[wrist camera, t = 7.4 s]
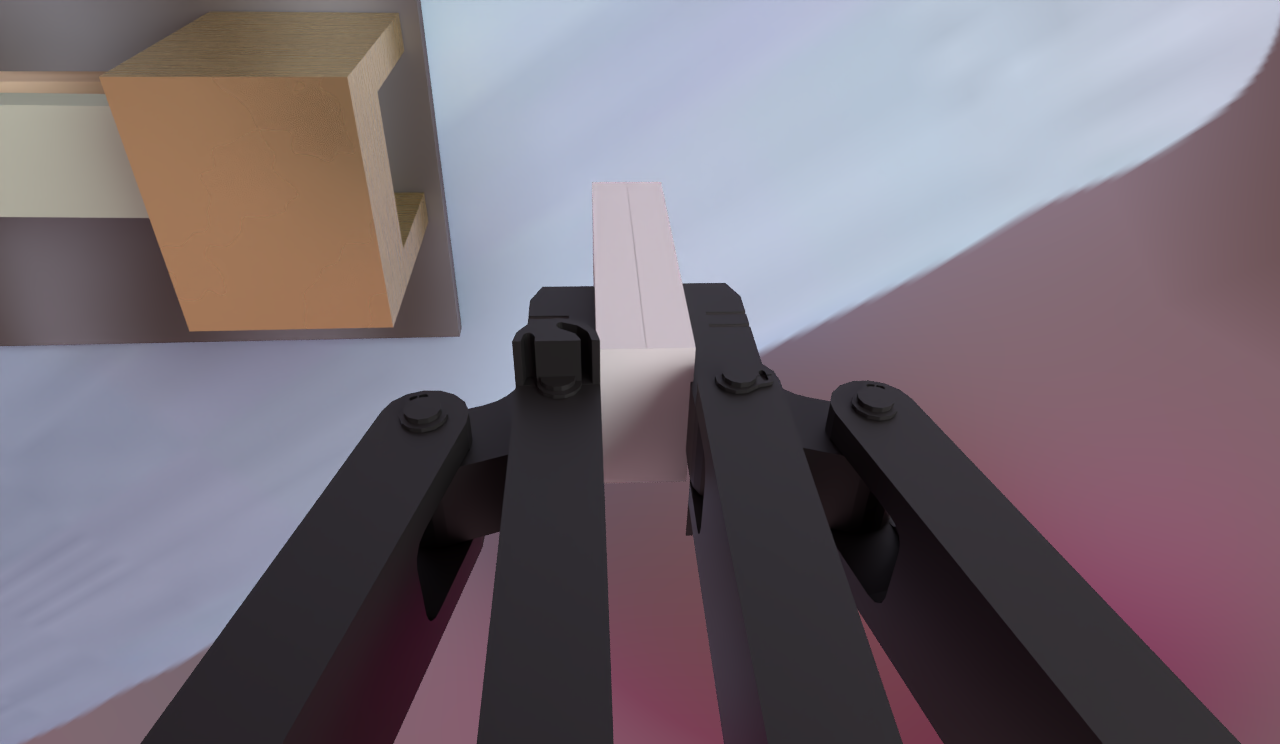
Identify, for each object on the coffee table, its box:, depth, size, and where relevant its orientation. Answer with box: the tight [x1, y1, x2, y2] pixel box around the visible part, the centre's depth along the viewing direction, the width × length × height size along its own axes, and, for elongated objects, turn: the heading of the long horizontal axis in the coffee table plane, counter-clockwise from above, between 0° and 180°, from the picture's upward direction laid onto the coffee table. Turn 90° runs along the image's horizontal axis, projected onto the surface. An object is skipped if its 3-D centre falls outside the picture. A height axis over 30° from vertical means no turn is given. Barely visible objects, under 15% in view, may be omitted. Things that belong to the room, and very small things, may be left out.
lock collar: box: [99, 11, 428, 331], centre depth 21 cm, size 5×6×6 cm
